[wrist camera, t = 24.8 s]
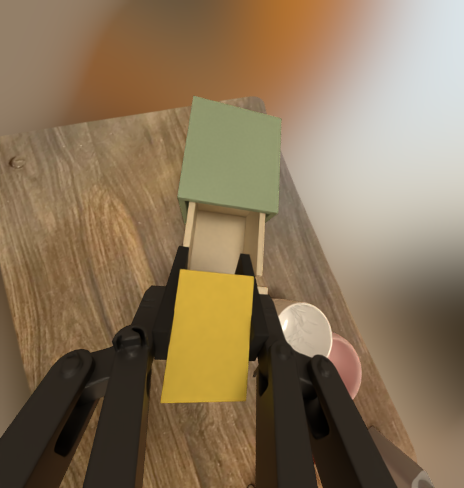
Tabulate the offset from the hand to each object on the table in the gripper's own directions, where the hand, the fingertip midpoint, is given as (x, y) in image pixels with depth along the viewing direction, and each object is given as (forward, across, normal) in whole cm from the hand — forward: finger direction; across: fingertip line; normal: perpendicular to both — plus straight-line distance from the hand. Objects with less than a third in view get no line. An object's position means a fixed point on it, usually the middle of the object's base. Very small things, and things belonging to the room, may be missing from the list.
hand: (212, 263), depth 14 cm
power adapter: (-7, +32, -30) cm, 45 cm away
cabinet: (+22, +2, -1) cm, 22 cm away
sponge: (0, 0, -5) cm, 5 cm away
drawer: (+12, +2, -10) cm, 16 cm away
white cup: (+7, +12, -17) cm, 22 cm away
